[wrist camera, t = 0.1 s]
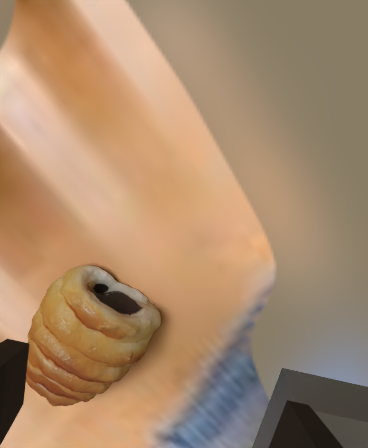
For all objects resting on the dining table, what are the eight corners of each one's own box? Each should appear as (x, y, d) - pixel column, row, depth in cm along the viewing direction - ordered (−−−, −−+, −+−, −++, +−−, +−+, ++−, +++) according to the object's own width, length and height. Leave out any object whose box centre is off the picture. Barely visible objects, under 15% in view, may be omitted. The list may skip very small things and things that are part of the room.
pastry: (98, 402, 21) (77, 456, 17) (13, 354, 20) (-28, 400, 17) (170, 303, 19) (163, 342, 15) (77, 246, 18) (47, 271, 15)
